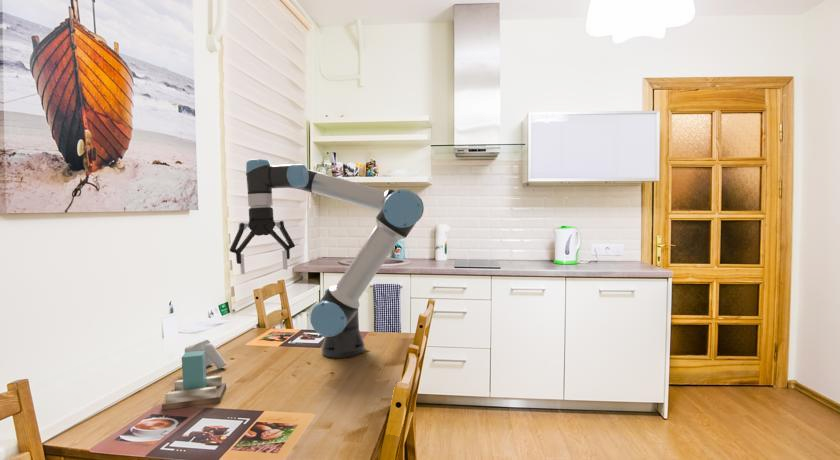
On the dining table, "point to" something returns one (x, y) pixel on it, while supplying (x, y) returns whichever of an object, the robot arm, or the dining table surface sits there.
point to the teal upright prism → (194, 370)
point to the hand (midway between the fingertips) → (264, 271)
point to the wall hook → (208, 353)
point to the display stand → (195, 394)
